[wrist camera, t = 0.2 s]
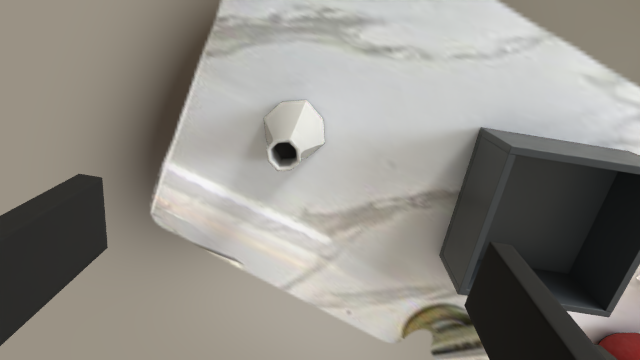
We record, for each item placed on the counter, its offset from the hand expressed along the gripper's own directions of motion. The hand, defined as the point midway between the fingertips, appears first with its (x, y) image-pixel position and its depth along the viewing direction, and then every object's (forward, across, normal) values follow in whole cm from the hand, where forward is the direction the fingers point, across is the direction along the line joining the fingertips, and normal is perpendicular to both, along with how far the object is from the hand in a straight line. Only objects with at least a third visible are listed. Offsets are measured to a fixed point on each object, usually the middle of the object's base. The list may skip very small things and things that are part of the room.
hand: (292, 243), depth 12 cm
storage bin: (+31, +27, -9) cm, 42 cm away
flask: (+31, -3, -4) cm, 31 cm away
